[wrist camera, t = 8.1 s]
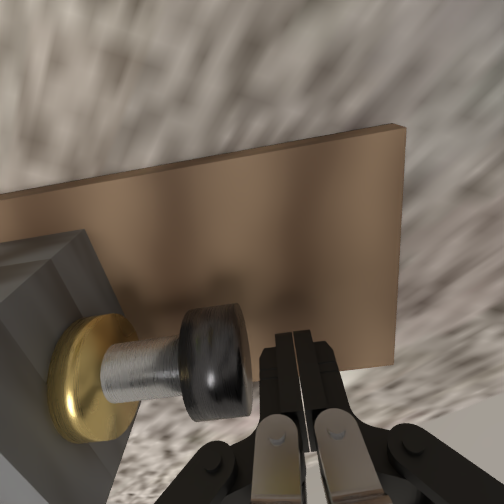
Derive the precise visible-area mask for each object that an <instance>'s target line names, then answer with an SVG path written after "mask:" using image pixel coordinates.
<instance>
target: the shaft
mask: <svg viewBox="0 0 504 504" xmlns="http://www.w3.org/2000/svg"><path fill="white" fill-rule="evenodd" d="M46 384H47V402H48V408H49V412H50V416H51V419H52V421H53V424H54V426H55V428H56V429H57V431H58V433H59V434H60V435H61V436H62V437H63V438H64V439H66V440H67V441H69V442H71V443H76V444H81V443H90V442H99V441H108V440H113V439H116V438H118V437H119V436H121V435H122V434H123V433H124V432H125V431H126V429H127V428H128V427H129V425H130V423H131V422H132V420H133V418H134V416H135V413H136V410H137V407H138V404H139V401H140V400H149V399H157V398H165V397H174V396H183V400H184V404H185V407H186V410H187V412H188V414H189V416H190V417H191V419H192V420H193V421H195V422H201V421H210V420H219V419H227V418H236V417H245V416H250V414H251V410H252V401H253V382H252V366H251V356H250V348H249V341H248V335H247V330H246V325H245V320H244V316H243V313H242V310H241V307H240V305H239V304H238V303H231V304H224V305H217V306H210V307H203V308H196V309H190V310H188V311H187V312H186V314H185V315H184V317H183V320H182V324H181V328H180V334H179V335H175V336H168V337H160V338H153V339H145V340H139V339H138V336H137V334H136V331H135V329H134V327H133V326H132V324H131V323H130V322H129V321H128V319H126V318H125V317H124V316H122V315H120V314H117V313H111V314H105V315H98V316H91V317H85V318H81V319H79V320H77V321H75V322H74V323H72V324H71V325H70V326H69V327H68V328H67V329H66V330H65V332H64V333H63V334H62V336H61V337H60V339H59V341H58V343H57V345H56V347H55V349H54V352H53V354H52V358H51V361H50V365H49V371H48V378H47V381H46Z"/></svg>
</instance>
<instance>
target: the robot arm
mask: <svg viewBox="0 0 504 504" xmlns="http://www.w3.org/2000/svg"><path fill="white" fill-rule="evenodd" d="M293 335H294V342H295V348H296V355H297V362H298V368H299V375H300V382H301V388H302V395H303V401H304V408H305V414H306V421H307V428H308V434H309V441H310V447H311V452H314V451H317V455H318V461H319V467H320V474H321V479H322V484H323V488H324V492H325V496H326V500H327V504H504V484H502V483H501V482H499V481H498V480H496V479H495V478H493V477H492V476H490V475H489V474H488V473H486V472H485V471H483V470H482V469H480V468H479V467H478V466H476V465H475V464H473V463H472V462H471V461H469V460H467V459H466V458H465V457H463V456H462V455H460V454H459V453H458V452H456V451H455V450H453V449H452V448H450V447H449V446H448V445H446V444H445V443H443V442H442V441H440V440H439V439H437V438H436V437H435V436H433V435H432V434H430V433H429V432H427V431H426V430H424V429H423V428H421V427H419V426H417V425H414V424H409V423H403V424H398V425H396V426H394V427H393V428H392V429H391V430H386V429H381V428H377V427H373V426H370V425H367V424H365V423H363V422H362V421H361V420H359V419H358V418H357V417H356V416H355V415H354V414H353V412H352V410H351V408H350V406H349V403H348V399H347V396H346V392H345V389H344V385H343V382H342V379H341V375H340V372H339V368H338V365H337V362H336V358H335V355H334V351H333V349H332V348H331V347H330V346H329V344H328V343H327V342H326V341H318V342H313V340H312V335H311V331H310V329H308V330H301V331H293ZM275 345H276V347H270V348H264V349H263V351H262V353H261V356H260V358H259V371H260V372H259V379H260V381H259V382H260V420H259V423H258V426H257V428H256V429H255V431H254V432H253V433H252V434H251V435H250V436H249V437H247V438H246V439H244V440H242V441H240V442H238V443H235V444H233V445H231V446H229V445H228V444H227V443H225V442H223V441H212V442H209V443H207V444H205V445H204V446H202V447H201V448H200V449H199V450H198V451H197V453H196V454H195V455H194V456H193V457H192V459H191V460H190V461H189V462H188V463H187V465H186V466H185V467H184V468H183V469H182V471H181V472H180V473H179V474H178V475H177V477H176V478H175V479H174V480H173V481H172V483H171V484H170V485H169V486H168V487H167V489H166V490H165V491H164V492H163V493H162V495H161V496H160V497H159V498H158V499H157V501H156V502H155V503H154V504H307V492H306V464H305V457H304V453H305V452H309V445H308V438H307V431H306V424H305V418H304V411H303V404H302V397H301V391H300V384H299V377H298V370H297V364H296V357H295V350H294V344H293V337H292V332H285V333H277V334H275Z"/></svg>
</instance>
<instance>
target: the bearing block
mask: <svg viewBox="0 0 504 504" xmlns="http://www.w3.org/2000/svg"><path fill="white" fill-rule="evenodd" d="M405 146H406V127H403V126H399V125H396V124H393V123H391V124H386V125H380V126H375V127H369V128H364V129H358V130H353V131H347V132H342V133H336V134H331V135H325V136H320V137H314V138H309V139H303V140H298V141H292V142H287V143H281V144H276V145H270V146H265V147H259V148H254V149H248V150H242V151H237V152H231V153H226V154H220V155H215V156H209V157H204V158H198V159H193V160H187V161H182V162H176V163H171V164H165V165H160V166H154V167H149V168H143V169H138V170H132V171H127V172H121V173H116V174H110V175H104V176H99V177H93V178H88V179H82V180H77V181H71V182H66V183H60V184H55V185H49V186H44V187H38V188H33V189H27V190H22V191H16V192H11V193H5V194H0V504H106V502H107V499H108V496H109V493H110V490H111V488H112V485H113V482H114V479H115V476H116V473H117V470H118V467H119V464H120V461H121V459H122V456H123V453H124V450H125V447H126V444H127V441H128V438H129V435H130V432H131V429H132V427H133V424H134V421H135V418H136V415H137V412H138V409H139V406H140V403H141V400H140V401H139V404H138V407H137V410H136V413H135V416H134V418H133V420H132V422H131V423H130V425H129V427H128V428H127V429H126V431H125V432H124V433H123V434H122V435H121V436H119V437H118V438H116V439H113V440H108V441H99V442H90V443H81V444H76V443H71V442H69V441H67V440H66V439H64V438H63V437H62V436H61V435H60V434H59V433H58V431H57V429H56V428H55V426H54V424H53V421H52V419H51V416H50V412H49V408H48V402H47V384H46V381H47V378H48V371H49V365H50V361H51V358H52V354H53V352H54V349H55V347H56V345H57V343H58V341H59V339H60V337H61V336H62V334H63V333H64V332H65V330H66V329H67V328H68V327H69V326H70V325H71V324H72V323H74V322H75V321H77V320H79V319H81V318H85V317H91V316H98V315H105V314H111V313H117V314H120V315H122V316H124V317H125V318H126V319H128V321H129V322H130V323H131V324H132V326H133V327H134V329H135V331H136V334H137V336H138V339H139V340H145V339H153V338H160V337H168V336H175V335H179V334H180V328H181V324H182V320H183V317H184V315H185V314H186V312H187V311H188V310H190V309H196V308H203V307H210V306H217V305H224V304H231V303H238V304H239V305H240V307H241V310H242V313H243V316H244V320H245V325H246V330H247V335H248V341H249V348H250V356H251V366H252V382H255V381H260V379H259V372H260V371H259V358H260V356H261V353H262V351H263V349H264V348H270V347H276V345H275V334H277V333H285V332H292V337H293V344H294V350H295V357H296V364H297V370H298V376H300V375H299V368H298V362H297V355H296V348H295V342H294V335H293V331H301V330H308V329H310V331H311V335H312V340H313V342H318V341H326V342H327V343H328V344H329V346H330V347H331V348H332V349H333V351H334V355H335V358H336V362H337V365H338V368H339V371H346V370H354V369H362V368H371V367H379V366H387V365H394V348H395V330H396V311H397V293H398V275H399V256H400V238H401V219H402V201H403V183H404V164H405Z"/></svg>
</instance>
